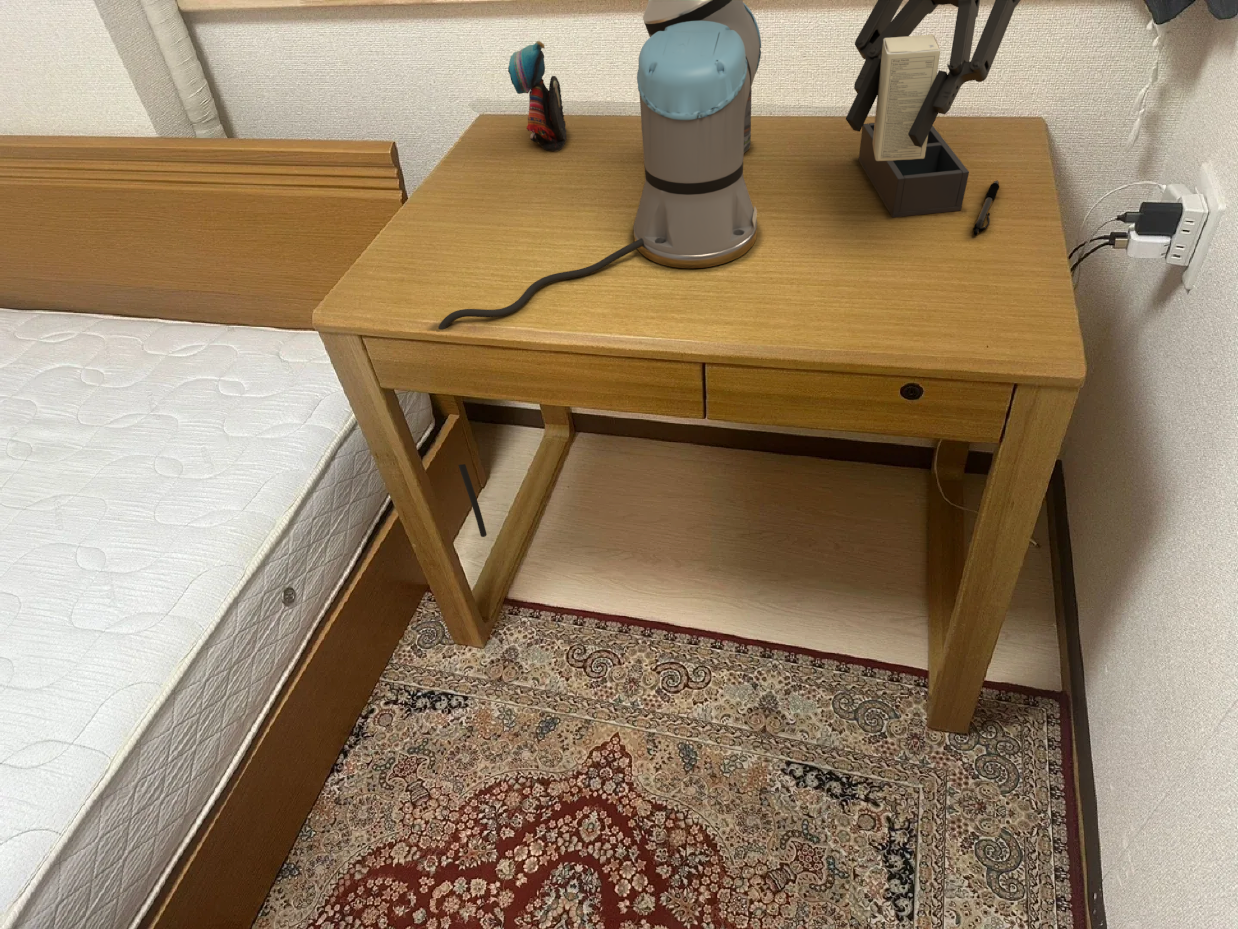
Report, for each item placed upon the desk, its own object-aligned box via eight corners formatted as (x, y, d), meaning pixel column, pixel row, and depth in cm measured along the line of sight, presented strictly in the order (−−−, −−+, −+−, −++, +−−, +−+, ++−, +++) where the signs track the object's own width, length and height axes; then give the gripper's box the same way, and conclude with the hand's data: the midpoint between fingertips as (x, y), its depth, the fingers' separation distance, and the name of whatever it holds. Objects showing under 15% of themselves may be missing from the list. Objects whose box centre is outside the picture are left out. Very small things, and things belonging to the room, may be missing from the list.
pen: (983, 239, 101) (986, 231, 100) (969, 237, 101) (971, 228, 101) (1004, 186, 109) (1007, 178, 109) (991, 184, 110) (993, 176, 109)
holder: (892, 217, 106) (898, 178, 103) (858, 160, 118) (862, 123, 115) (961, 210, 106) (969, 171, 103) (920, 153, 118) (926, 116, 114)
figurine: (529, 128, 135) (513, 27, 124) (573, 127, 134) (561, 24, 123) (517, 156, 128) (499, 52, 117) (563, 155, 127) (549, 49, 116)
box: (919, 142, 92) (937, 32, 84) (925, 160, 89) (944, 48, 81) (869, 143, 93) (882, 35, 85) (873, 161, 90) (887, 51, 82)
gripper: (1096, -59, 81) (980, 170, 85) (911, -78, 91) (814, 128, 95) (1090, -112, 75) (965, 138, 78) (892, -126, 85) (789, 96, 89)
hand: (883, 132), depth 87 cm, fingers closed on box, 6 cm apart
